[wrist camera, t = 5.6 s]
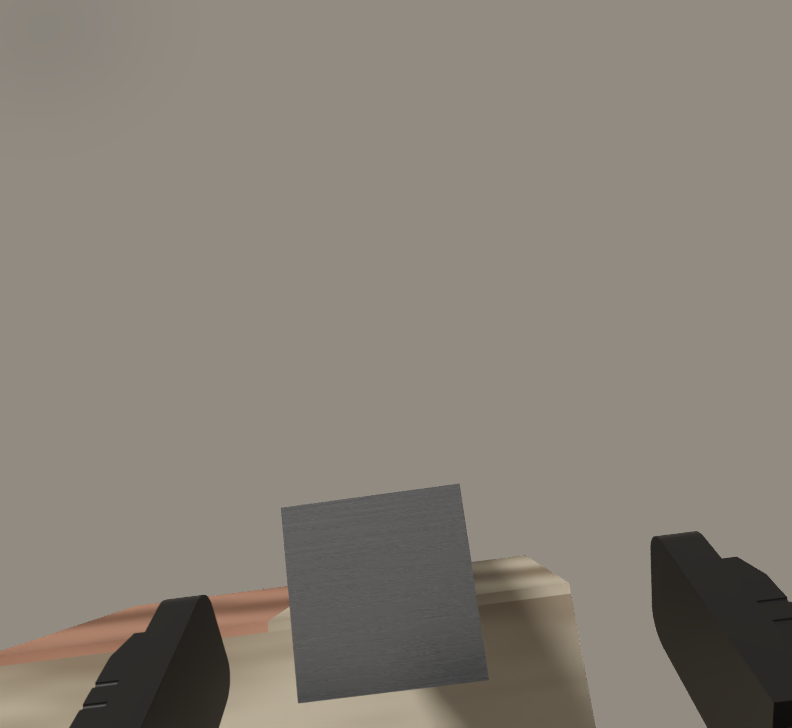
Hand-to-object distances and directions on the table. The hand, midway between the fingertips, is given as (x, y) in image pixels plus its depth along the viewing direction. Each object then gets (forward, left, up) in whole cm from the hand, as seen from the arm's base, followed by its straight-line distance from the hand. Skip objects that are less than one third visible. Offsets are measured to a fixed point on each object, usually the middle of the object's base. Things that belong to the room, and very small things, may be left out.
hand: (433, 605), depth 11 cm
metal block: (-7, +6, -1) cm, 10 cm away
